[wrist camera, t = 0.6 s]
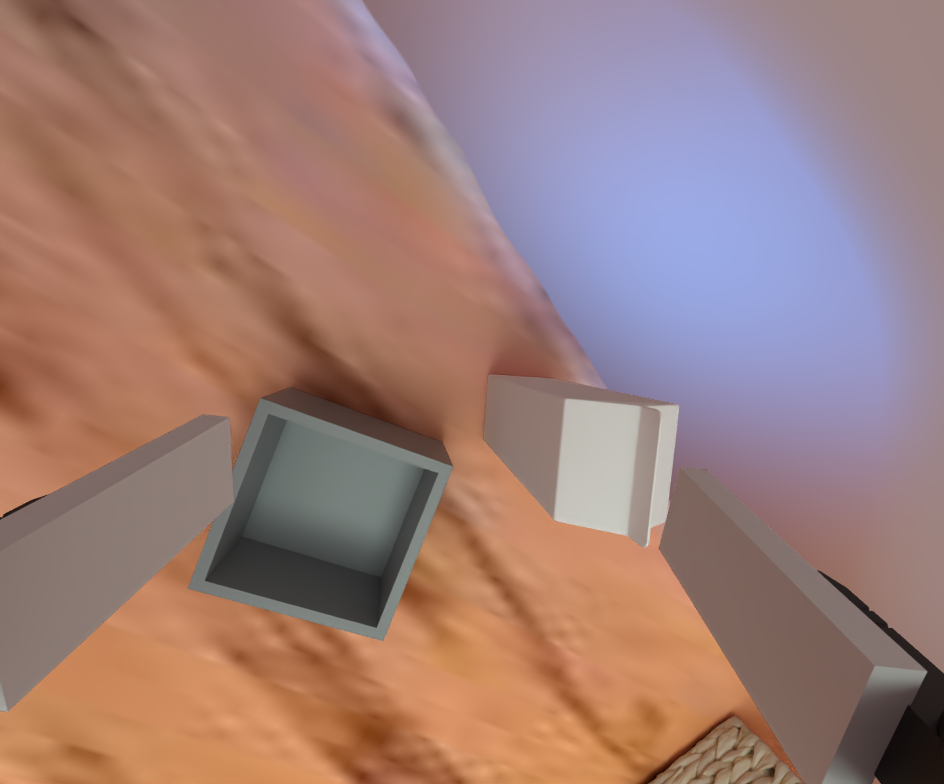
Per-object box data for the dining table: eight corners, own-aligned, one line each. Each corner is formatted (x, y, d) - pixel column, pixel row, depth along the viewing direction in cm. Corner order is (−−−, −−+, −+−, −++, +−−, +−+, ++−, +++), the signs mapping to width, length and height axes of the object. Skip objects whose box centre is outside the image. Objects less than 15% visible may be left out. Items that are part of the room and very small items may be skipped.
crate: (290, 387, 37) (260, 398, 29) (442, 442, 39) (453, 466, 31) (233, 537, 37) (187, 588, 29) (386, 582, 39) (383, 641, 32)
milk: (482, 439, 40) (575, 553, 18) (487, 372, 39) (590, 406, 17) (547, 442, 41) (710, 553, 19) (553, 376, 40) (727, 414, 18)
